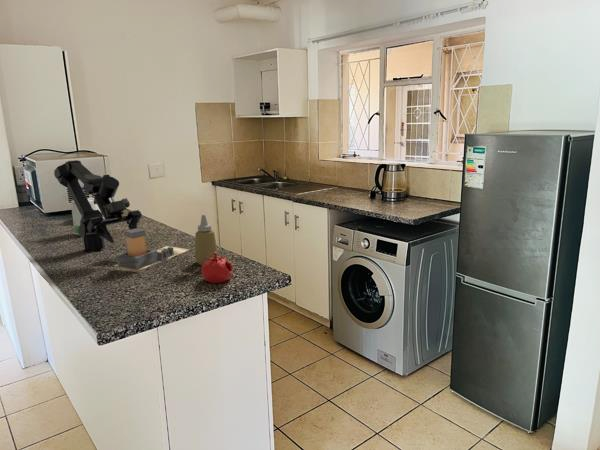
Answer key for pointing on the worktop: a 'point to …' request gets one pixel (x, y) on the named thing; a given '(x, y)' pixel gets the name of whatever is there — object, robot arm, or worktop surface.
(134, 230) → the plug
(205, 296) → the worktop surface
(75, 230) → the skincare box
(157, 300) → the worktop surface
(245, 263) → the worktop surface
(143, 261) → the board
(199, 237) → the squeeze bottle
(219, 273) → the pomegranate
